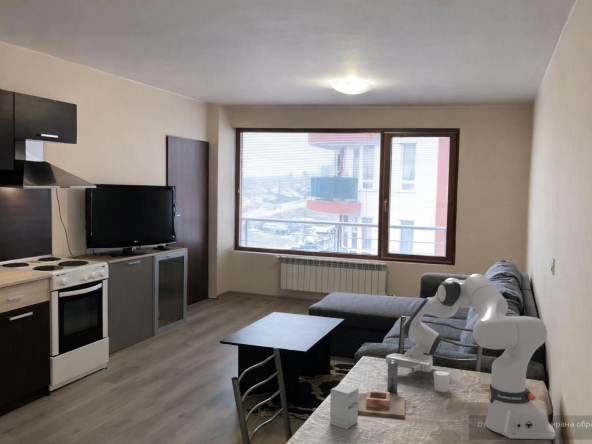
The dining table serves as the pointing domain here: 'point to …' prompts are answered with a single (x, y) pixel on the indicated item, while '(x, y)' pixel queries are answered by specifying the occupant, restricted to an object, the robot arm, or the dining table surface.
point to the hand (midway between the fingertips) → (402, 367)
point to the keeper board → (381, 404)
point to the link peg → (392, 376)
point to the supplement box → (344, 406)
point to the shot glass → (441, 381)
